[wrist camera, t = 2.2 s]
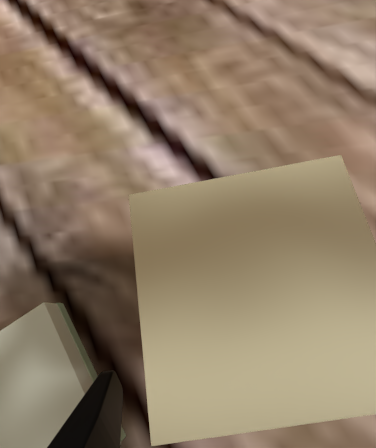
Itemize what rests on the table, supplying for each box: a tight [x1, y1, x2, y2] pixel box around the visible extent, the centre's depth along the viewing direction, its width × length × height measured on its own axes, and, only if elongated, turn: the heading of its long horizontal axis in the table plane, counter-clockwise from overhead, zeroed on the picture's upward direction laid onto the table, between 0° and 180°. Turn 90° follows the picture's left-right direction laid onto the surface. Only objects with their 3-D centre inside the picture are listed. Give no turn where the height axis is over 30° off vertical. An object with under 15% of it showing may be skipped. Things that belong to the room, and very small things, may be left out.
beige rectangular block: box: [129, 155, 376, 446], centre depth 13 cm, size 6×6×12 cm
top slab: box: [0, 302, 121, 448], centre depth 16 cm, size 9×9×2 cm
